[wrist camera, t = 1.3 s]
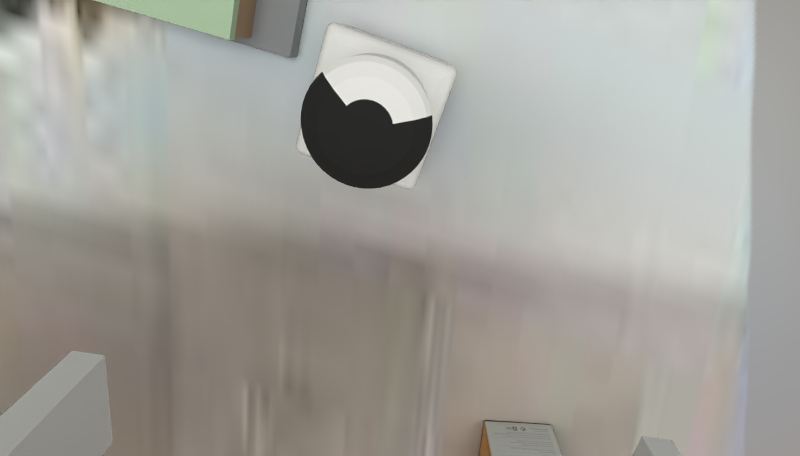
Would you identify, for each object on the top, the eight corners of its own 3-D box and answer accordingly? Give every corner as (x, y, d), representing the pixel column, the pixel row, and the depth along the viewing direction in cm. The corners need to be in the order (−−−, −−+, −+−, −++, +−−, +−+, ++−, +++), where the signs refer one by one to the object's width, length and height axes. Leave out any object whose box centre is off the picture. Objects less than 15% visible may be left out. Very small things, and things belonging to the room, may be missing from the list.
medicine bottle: (412, 162, 33) (414, 224, 22) (316, 129, 33) (268, 176, 22) (448, 62, 31) (470, 75, 20) (345, 24, 30) (307, 15, 19)
